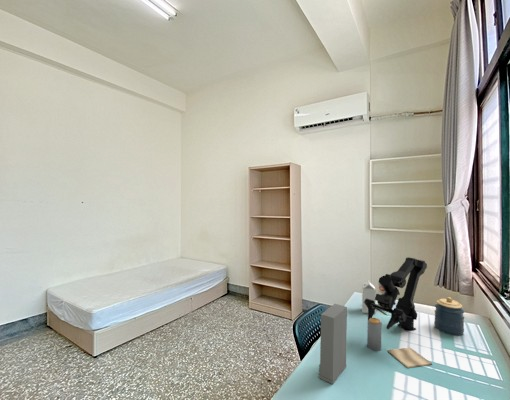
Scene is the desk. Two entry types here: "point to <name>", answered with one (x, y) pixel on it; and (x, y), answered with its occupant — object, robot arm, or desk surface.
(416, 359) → the mat
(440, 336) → the desk surface
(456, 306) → the canister
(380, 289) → the aerosol can
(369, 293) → the milk carton
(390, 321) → the robot arm
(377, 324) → the canister
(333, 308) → the tall grey pillar
